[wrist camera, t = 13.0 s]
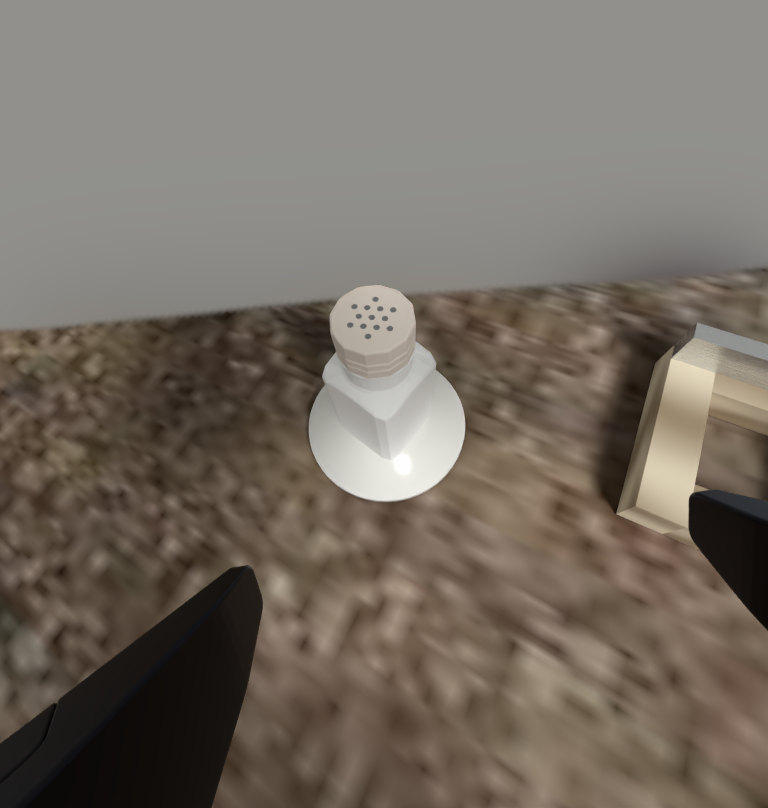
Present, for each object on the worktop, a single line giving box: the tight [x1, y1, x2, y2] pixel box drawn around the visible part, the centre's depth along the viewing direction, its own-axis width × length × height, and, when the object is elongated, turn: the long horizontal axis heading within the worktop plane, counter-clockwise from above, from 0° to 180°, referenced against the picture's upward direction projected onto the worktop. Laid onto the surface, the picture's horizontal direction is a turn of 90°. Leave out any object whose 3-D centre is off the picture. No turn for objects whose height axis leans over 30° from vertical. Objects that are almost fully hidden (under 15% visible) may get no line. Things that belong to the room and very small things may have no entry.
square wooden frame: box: [616, 323, 768, 550], centre depth 20 cm, size 10×10×4 cm
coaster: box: [309, 370, 465, 502], centre depth 23 cm, size 9×9×1 cm
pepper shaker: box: [322, 285, 436, 460], centre depth 19 cm, size 4×4×10 cm
